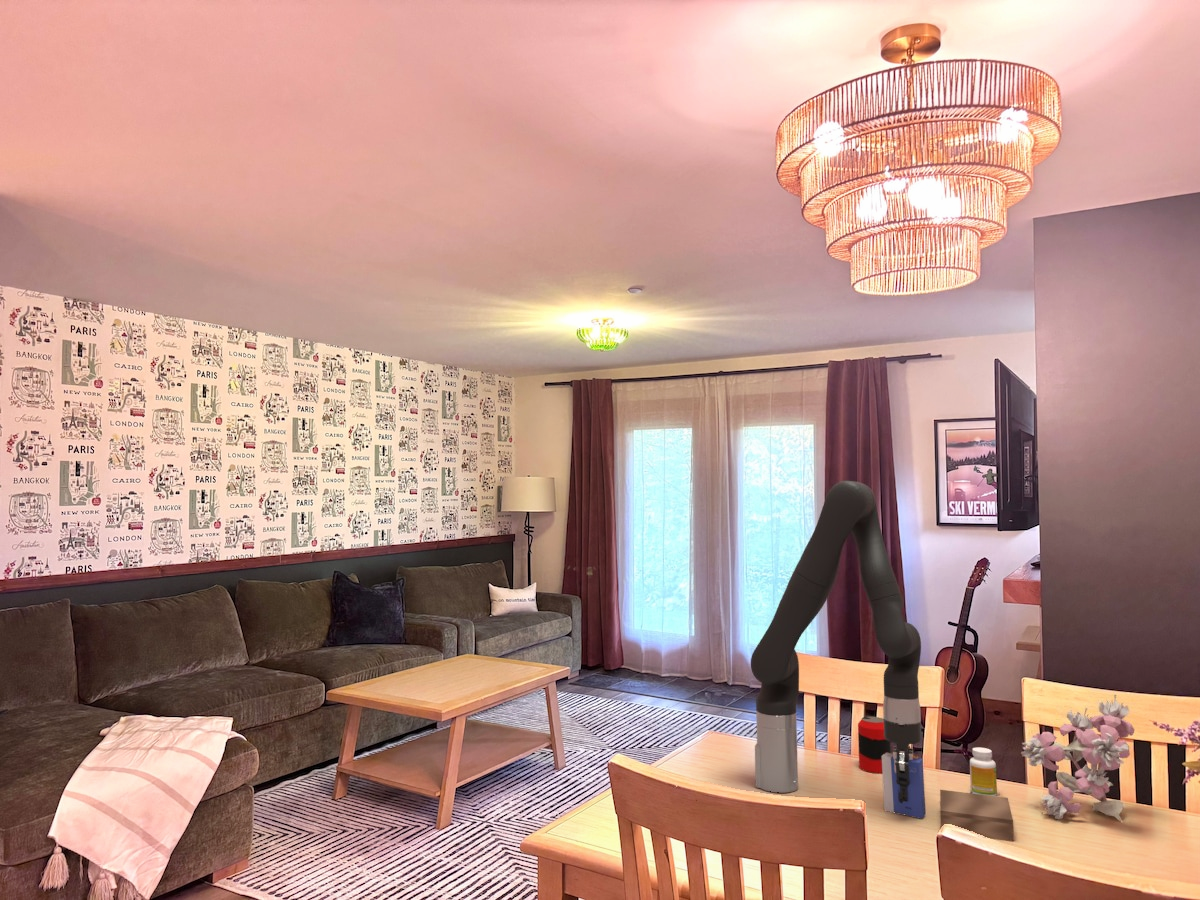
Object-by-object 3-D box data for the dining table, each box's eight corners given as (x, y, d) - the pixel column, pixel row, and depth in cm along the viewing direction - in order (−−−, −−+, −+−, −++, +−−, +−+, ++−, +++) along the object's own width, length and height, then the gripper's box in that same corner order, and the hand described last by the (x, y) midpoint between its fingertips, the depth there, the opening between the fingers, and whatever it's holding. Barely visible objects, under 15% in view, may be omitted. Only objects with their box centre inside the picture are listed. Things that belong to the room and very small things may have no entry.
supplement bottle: (1000, 798, 177) (998, 754, 177) (974, 797, 178) (972, 752, 179) (993, 790, 182) (991, 746, 183) (968, 788, 183) (966, 745, 184)
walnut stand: (941, 831, 159) (940, 810, 159) (940, 808, 171) (940, 789, 171) (1013, 841, 154) (1013, 820, 154) (1008, 817, 166) (1007, 797, 166)
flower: (1017, 778, 185) (1007, 690, 178) (1129, 779, 177) (1124, 687, 170) (1035, 848, 168) (1024, 753, 160) (1160, 853, 160) (1155, 753, 152)
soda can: (868, 762, 203) (866, 714, 204) (896, 768, 198) (895, 719, 198) (853, 768, 198) (852, 719, 199) (882, 776, 192) (881, 725, 193)
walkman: (925, 814, 168) (922, 756, 168) (922, 819, 165) (918, 761, 166) (888, 806, 172) (884, 750, 172) (884, 810, 170) (880, 754, 170)
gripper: (885, 708, 178) (887, 787, 177) (881, 723, 165) (883, 809, 164) (921, 711, 175) (924, 792, 174) (920, 727, 163) (923, 814, 161)
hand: (904, 800), depth 169 cm, fingers closed on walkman, 2 cm apart
